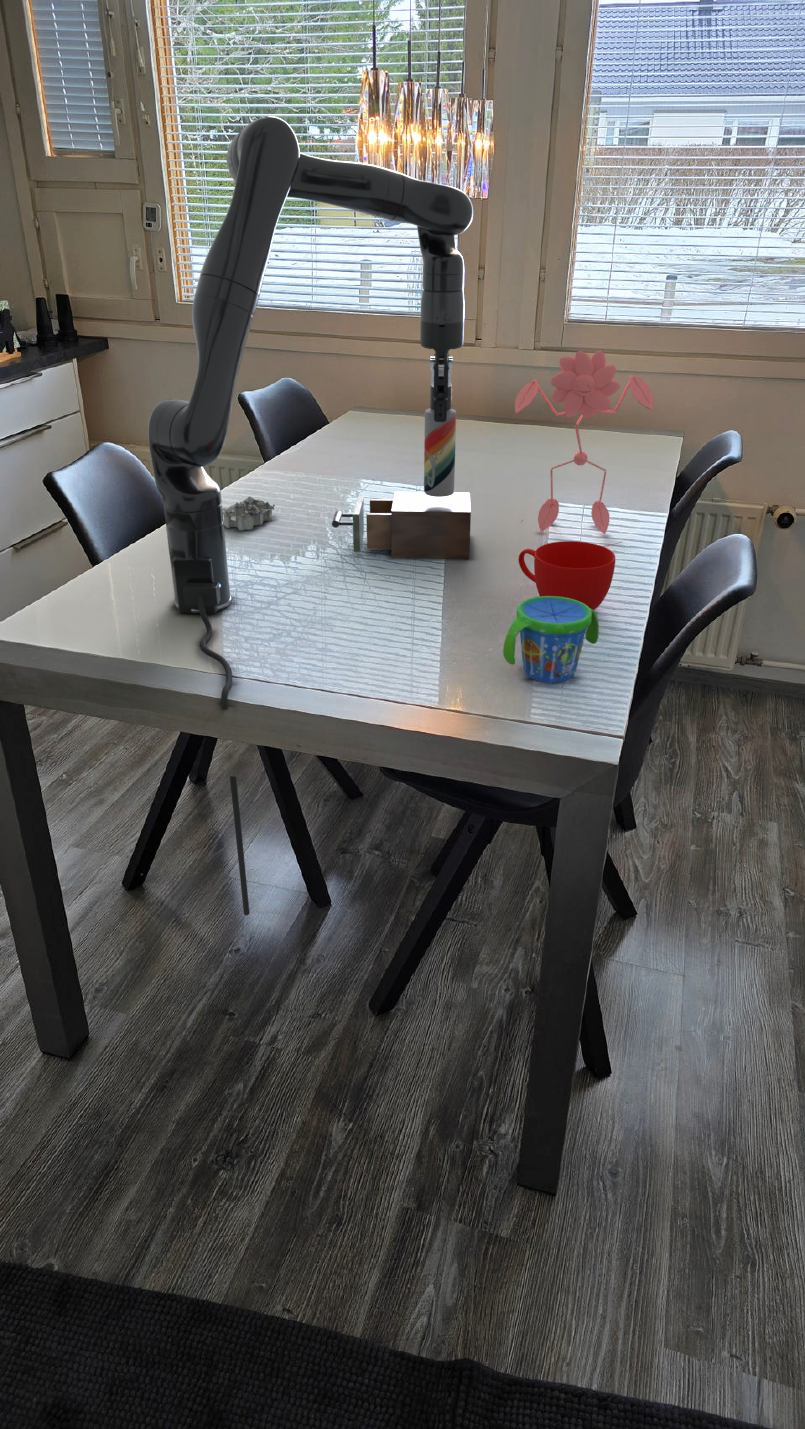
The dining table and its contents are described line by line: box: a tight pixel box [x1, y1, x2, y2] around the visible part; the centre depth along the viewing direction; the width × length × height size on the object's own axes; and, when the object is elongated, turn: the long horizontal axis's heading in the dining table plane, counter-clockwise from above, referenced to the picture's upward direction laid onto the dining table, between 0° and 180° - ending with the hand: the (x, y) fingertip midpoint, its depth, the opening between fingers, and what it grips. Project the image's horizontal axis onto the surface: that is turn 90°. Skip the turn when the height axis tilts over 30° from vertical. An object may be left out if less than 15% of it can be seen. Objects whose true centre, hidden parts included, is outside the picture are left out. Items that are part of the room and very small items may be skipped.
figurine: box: [514, 350, 655, 548], centre depth 190 cm, size 15×26×35 cm, turn 80°
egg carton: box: [222, 496, 276, 531], centre depth 206 cm, size 11×8×4 cm
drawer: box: [331, 496, 393, 553], centre depth 191 cm, size 18×11×7 cm, turn 88°
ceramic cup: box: [517, 540, 616, 611], centre depth 165 cm, size 13×17×10 cm
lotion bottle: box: [423, 384, 457, 497], centre depth 183 cm, size 6×6×20 cm
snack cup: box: [502, 596, 600, 684], centre depth 144 cm, size 16×10×10 cm
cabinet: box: [391, 491, 472, 560], centre depth 191 cm, size 15×12×9 cm
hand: (440, 417), depth 181 cm, fingers closed on lotion bottle, 5 cm apart
